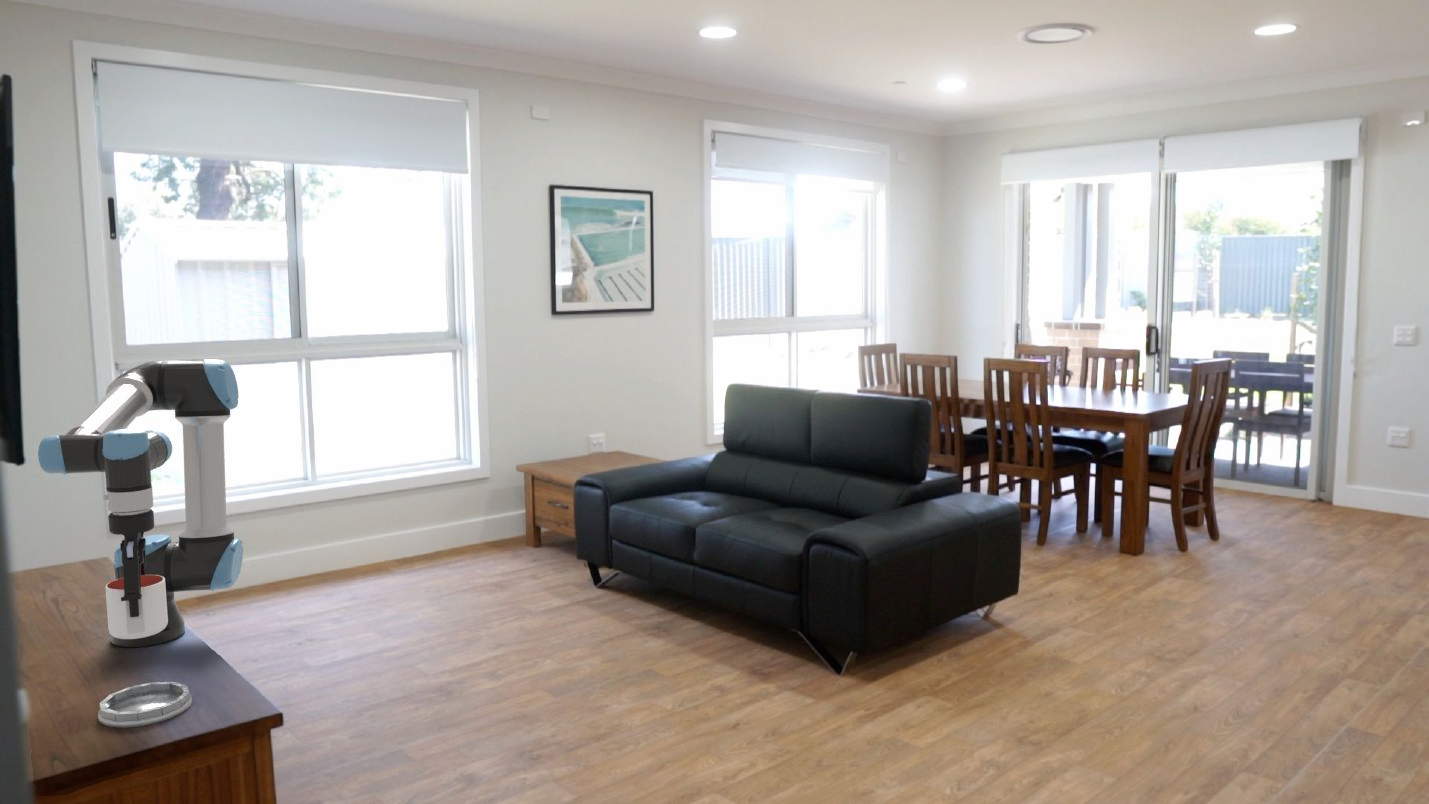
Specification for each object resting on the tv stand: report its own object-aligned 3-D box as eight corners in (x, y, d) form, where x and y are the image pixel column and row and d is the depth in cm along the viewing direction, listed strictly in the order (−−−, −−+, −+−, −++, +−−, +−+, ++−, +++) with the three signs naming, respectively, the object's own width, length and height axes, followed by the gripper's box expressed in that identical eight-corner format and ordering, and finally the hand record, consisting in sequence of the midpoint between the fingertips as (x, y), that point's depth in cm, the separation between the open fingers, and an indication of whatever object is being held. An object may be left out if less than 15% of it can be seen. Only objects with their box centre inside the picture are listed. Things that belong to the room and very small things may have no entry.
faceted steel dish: (123, 694, 206) (122, 682, 205) (205, 691, 207) (204, 679, 207) (81, 729, 190) (80, 716, 190) (170, 726, 191) (169, 713, 191)
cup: (155, 620, 203) (152, 571, 202) (177, 631, 197) (173, 581, 196) (100, 633, 196) (96, 583, 195) (121, 645, 189) (117, 593, 188)
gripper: (114, 500, 202) (122, 609, 205) (100, 525, 182) (109, 645, 184) (157, 497, 205) (164, 604, 208) (148, 521, 185) (156, 639, 188)
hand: (138, 623), depth 196 cm, fingers closed on cup, 10 cm apart
